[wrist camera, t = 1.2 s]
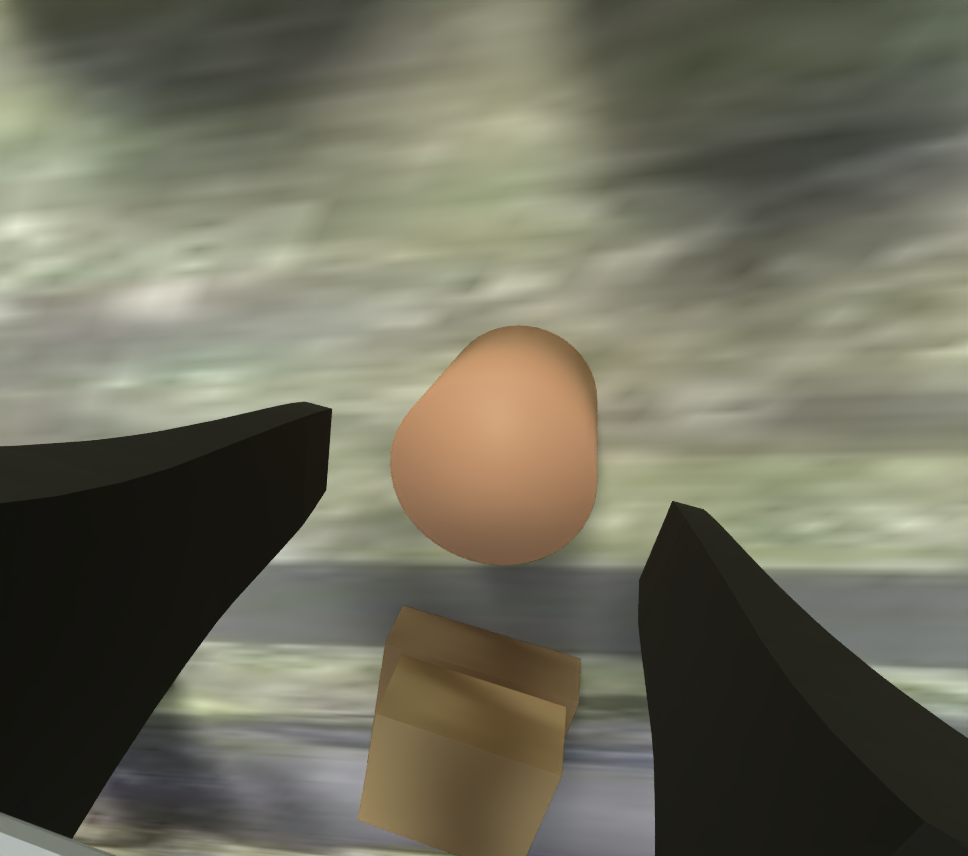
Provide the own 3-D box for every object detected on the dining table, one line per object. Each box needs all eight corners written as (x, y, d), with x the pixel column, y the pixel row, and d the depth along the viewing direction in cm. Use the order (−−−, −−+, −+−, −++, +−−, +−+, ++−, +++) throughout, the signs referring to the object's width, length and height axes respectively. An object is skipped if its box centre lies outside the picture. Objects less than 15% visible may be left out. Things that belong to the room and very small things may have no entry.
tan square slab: (388, 711, 24) (367, 762, 22) (407, 596, 21) (385, 643, 19) (538, 759, 23) (532, 817, 21) (580, 648, 20) (578, 703, 18)
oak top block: (381, 756, 21) (357, 820, 19) (401, 653, 19) (376, 713, 16) (525, 806, 21) (517, 877, 18) (566, 706, 18) (561, 775, 16)
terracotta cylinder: (436, 446, 17) (380, 533, 13) (460, 309, 15) (404, 355, 11) (574, 483, 17) (565, 588, 12) (616, 346, 15) (625, 411, 10)
